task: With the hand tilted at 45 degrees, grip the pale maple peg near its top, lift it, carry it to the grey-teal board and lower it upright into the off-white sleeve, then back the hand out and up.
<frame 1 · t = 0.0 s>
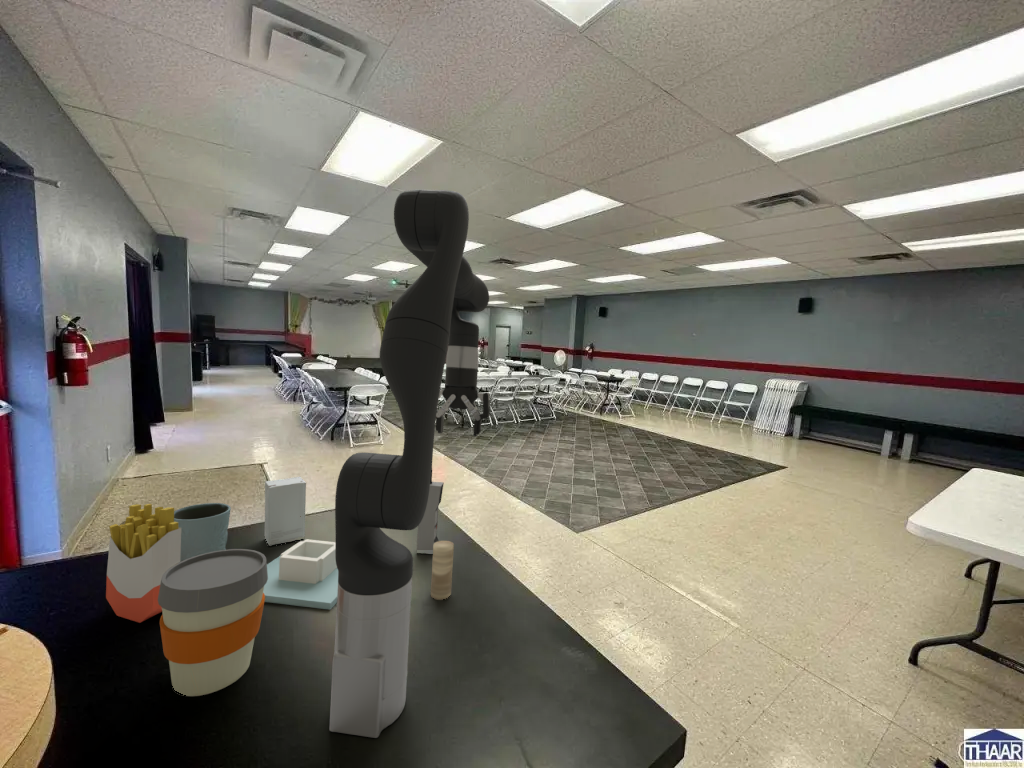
hand: (458, 434, 98), 29 cm above the table, tool pointing down, fingers open, 8 cm apart
french fries container: (141, 614, 71), on the table
blue embossed cup: (198, 567, 87), on the table
sleeve holder: (310, 576, 86), on the table
maple peg: (440, 594, 82), on the table
vintage mobile phone: (428, 552, 101), on the table
skincare box: (283, 540, 102), on the table
reusable coffee cup: (212, 672, 59), on the table
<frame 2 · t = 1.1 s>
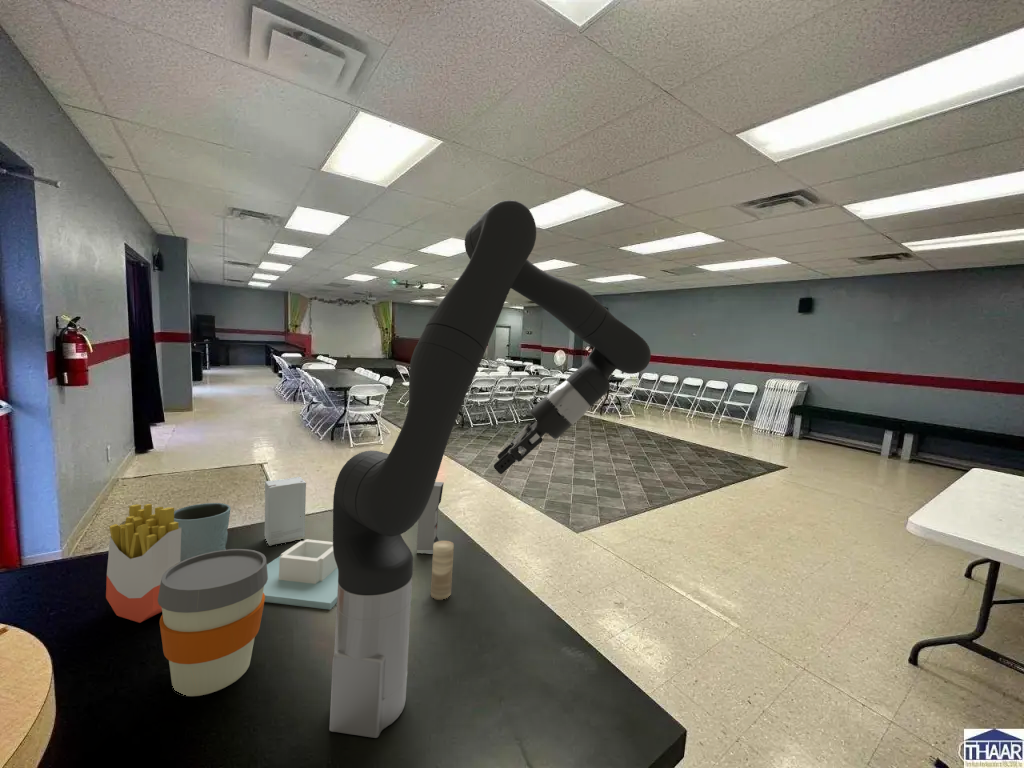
hand: (498, 464, 81), 27 cm above the table, tool tilted 45°, fingers open, 8 cm apart
nothing on the table moved.
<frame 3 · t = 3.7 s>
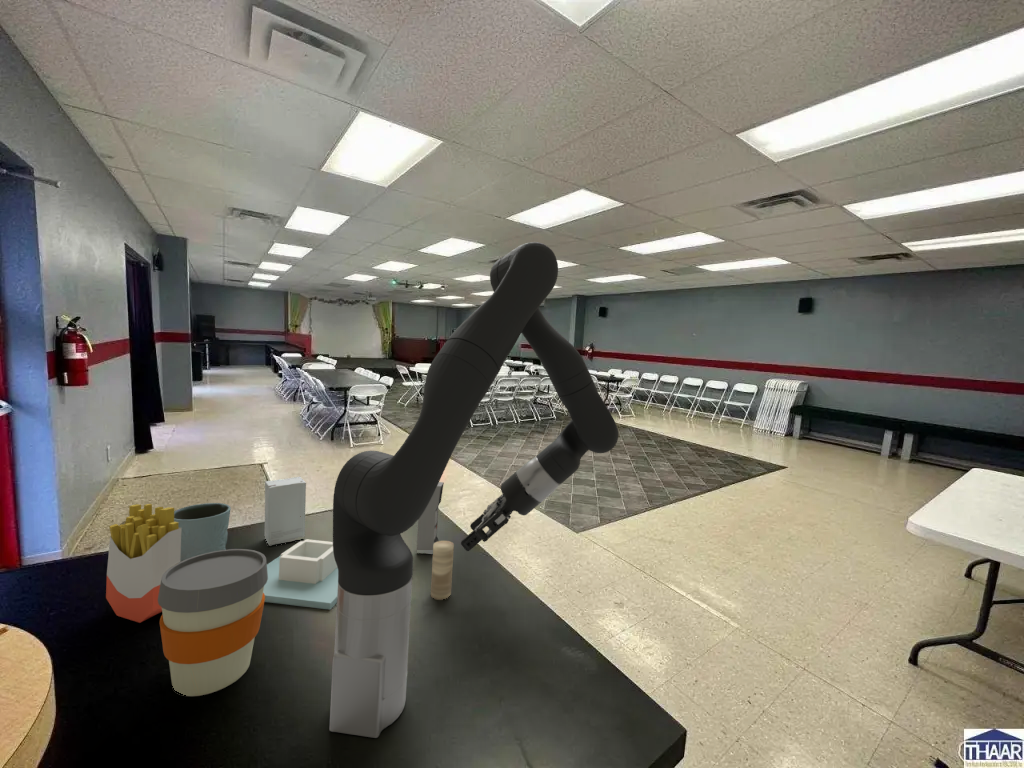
hand: (468, 537, 81), 12 cm above the table, tool tilted 45°, fingers open, 8 cm apart
nothing on the table moved.
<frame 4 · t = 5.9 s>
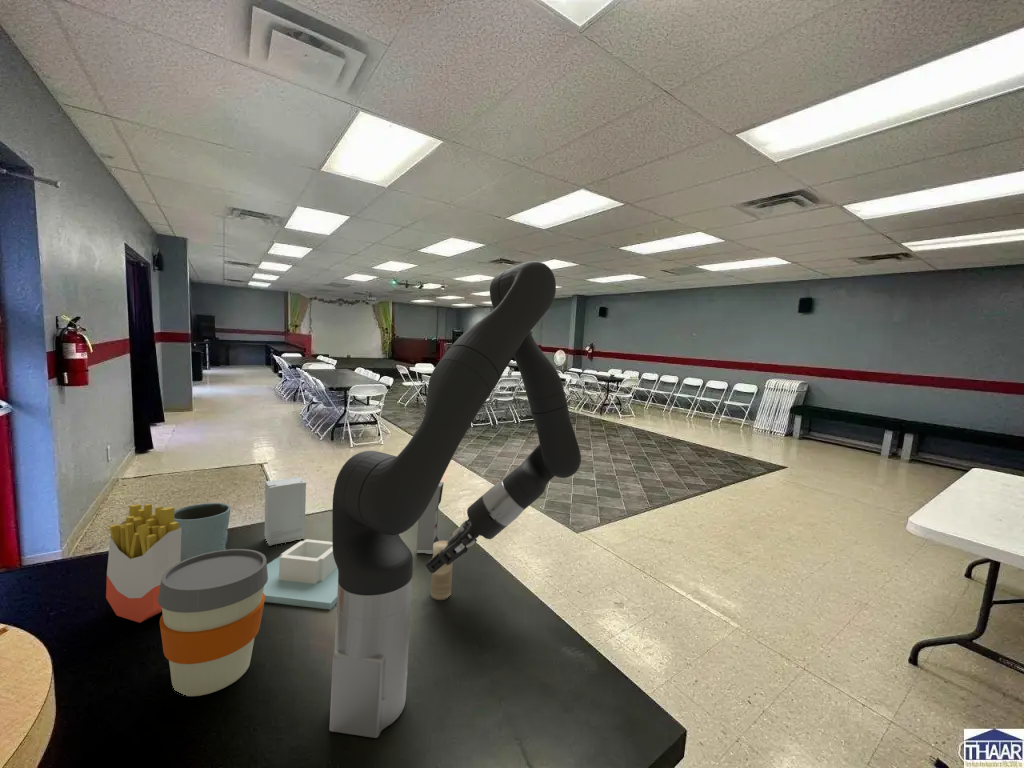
hand: (432, 563, 82), 6 cm above the table, tool tilted 45°, fingers closed on maple peg, 4 cm apart
maple peg: (440, 594, 82), on the table, touching gripper
everything else where it was.
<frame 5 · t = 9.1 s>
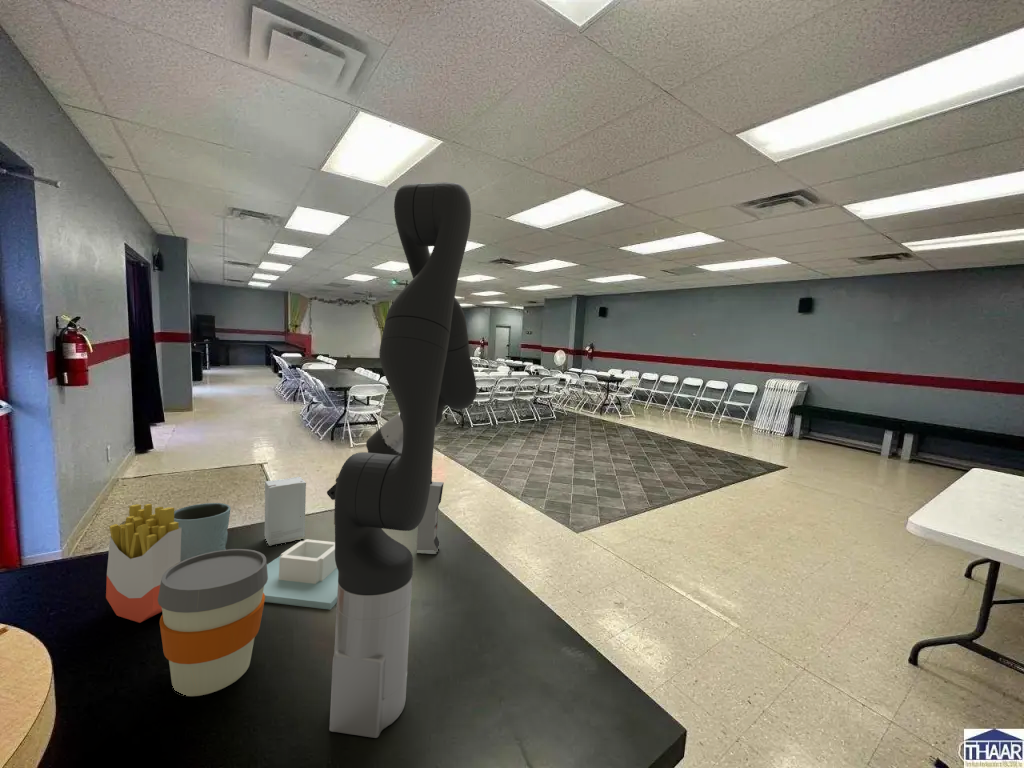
hand: (336, 492, 85), 18 cm above the table, tool tilted 45°, fingers closed on maple peg, 4 cm apart
maple peg: (344, 522, 85), point 12 cm above the table, touching gripper
everything else where it was.
when the fingers open (9 cm above the table, at t = 12.2 s): maple peg drops 1 cm, resting on sleeve holder.
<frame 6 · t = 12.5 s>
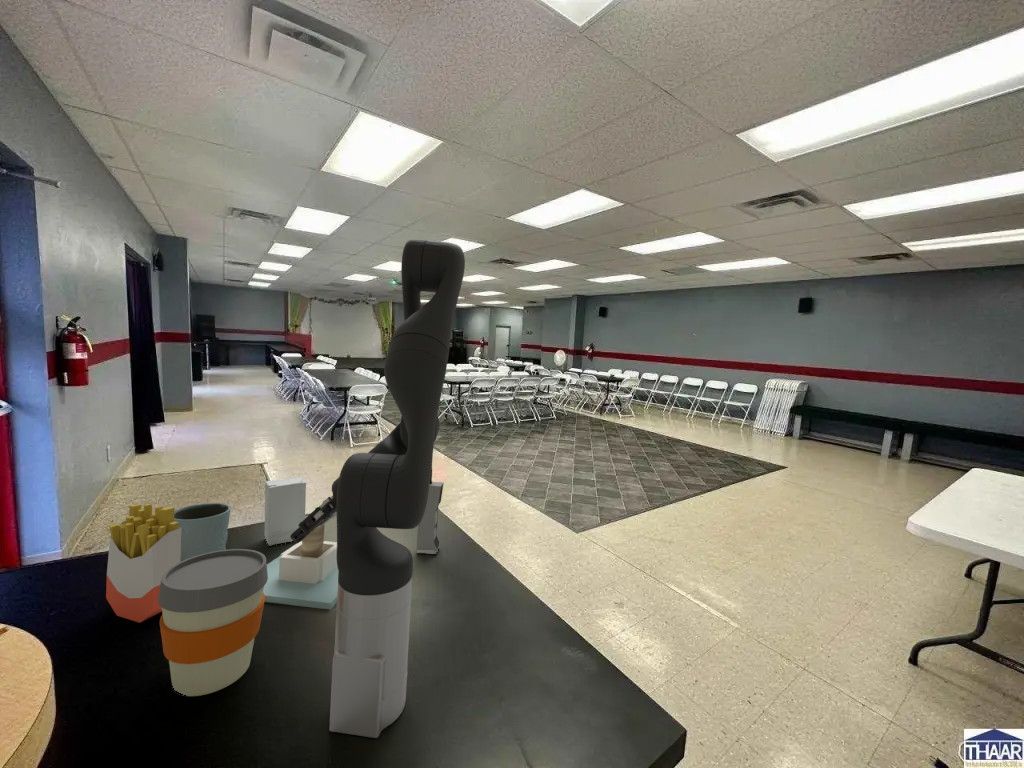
hand: (304, 532, 86), 9 cm above the table, tool tilted 45°, fingers open, 6 cm apart
maple peg: (310, 570, 86), point 1 cm above the table, touching sleeve holder
everything else where it was.
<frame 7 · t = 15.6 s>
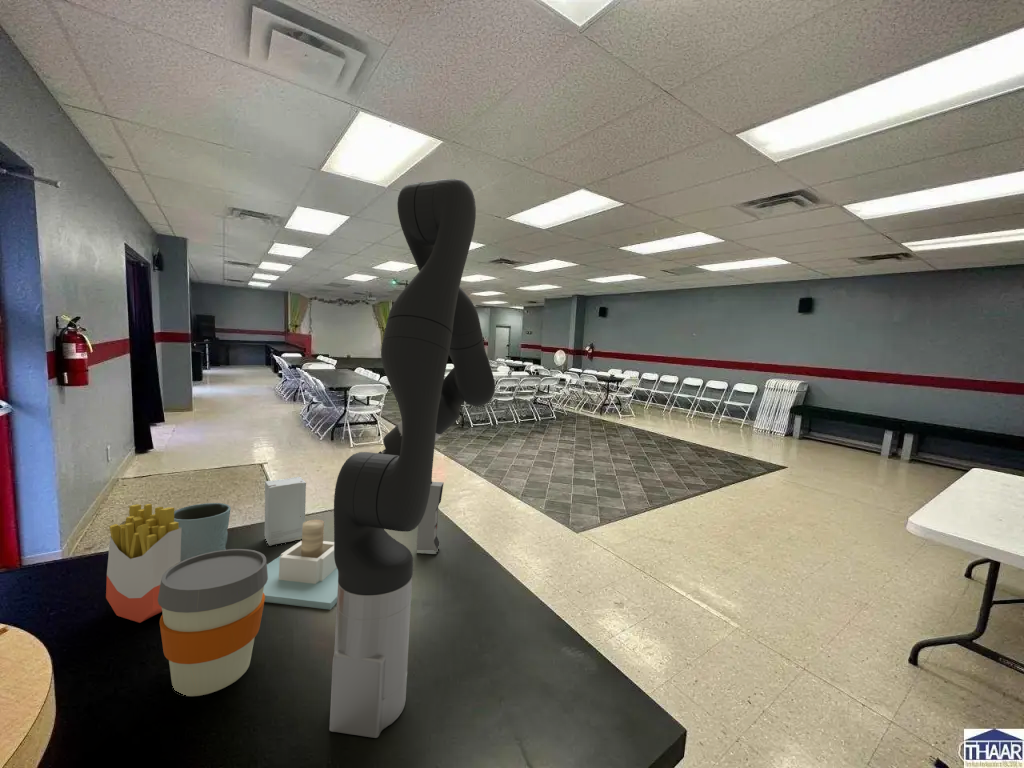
hand: (355, 487, 84), 19 cm above the table, tool tilted 45°, fingers open, 8 cm apart
nothing on the table moved.
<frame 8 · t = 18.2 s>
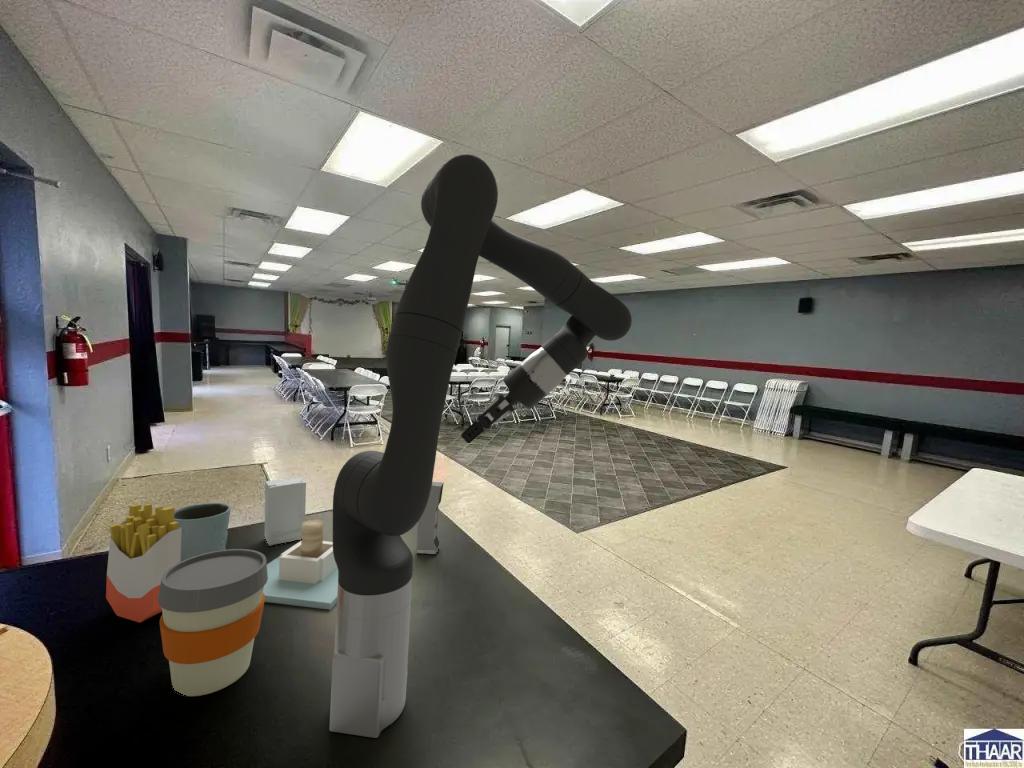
hand: (469, 435, 77), 33 cm above the table, tool tilted 45°, fingers open, 8 cm apart
nothing on the table moved.
at the end: maple peg 0.1 cm off-centre on the sleeve holder, point 1.2 cm above the sleeve holder's base; maple peg tilted 0°; the gripper is holding nothing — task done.
